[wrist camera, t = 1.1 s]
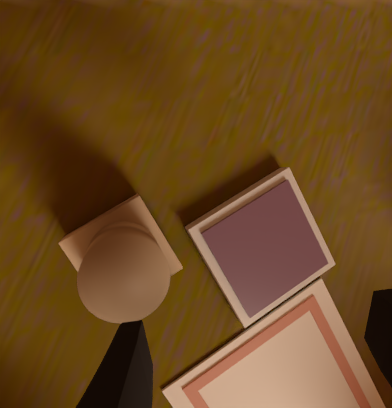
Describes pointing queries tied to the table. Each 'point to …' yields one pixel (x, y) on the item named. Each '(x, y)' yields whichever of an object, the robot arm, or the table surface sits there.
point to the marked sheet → (283, 363)
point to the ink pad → (261, 245)
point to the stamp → (121, 262)
